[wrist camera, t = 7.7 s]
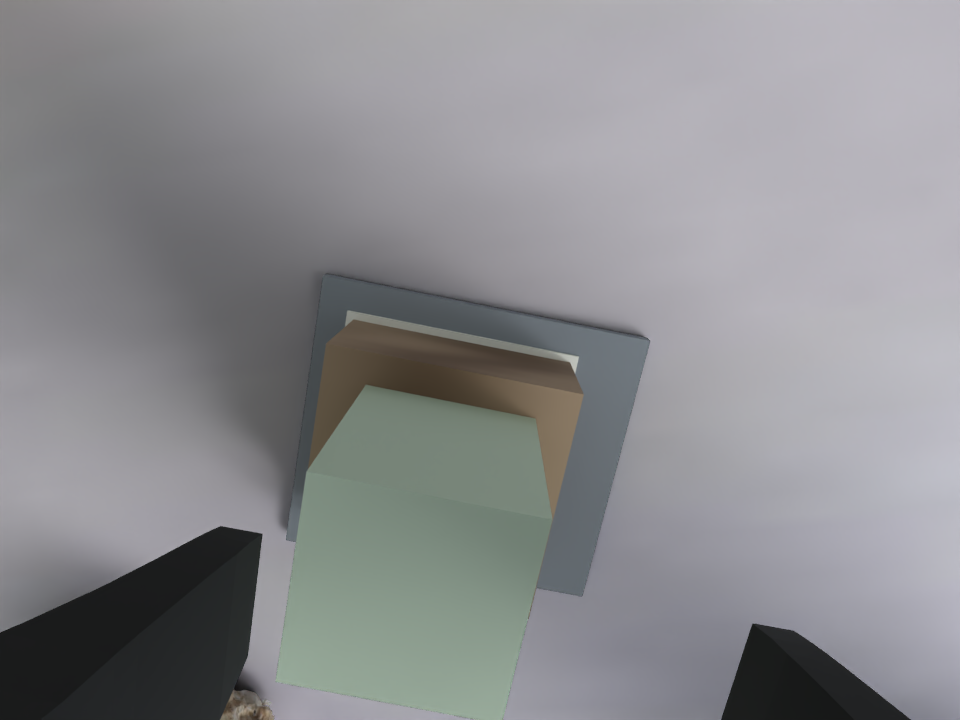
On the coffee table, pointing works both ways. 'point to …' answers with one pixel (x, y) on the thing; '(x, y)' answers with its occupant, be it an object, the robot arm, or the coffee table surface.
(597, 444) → the mat
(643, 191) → the coffee table surface
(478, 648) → the sage block
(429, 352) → the walnut block
